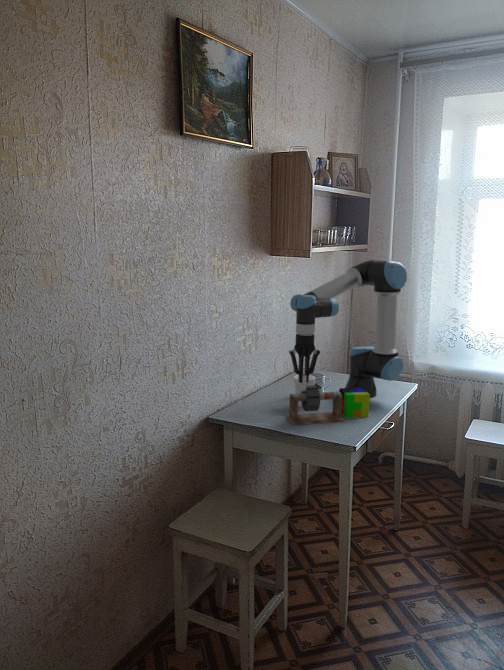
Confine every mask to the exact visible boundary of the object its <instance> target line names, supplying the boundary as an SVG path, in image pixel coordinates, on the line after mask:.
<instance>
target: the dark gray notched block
mask: <svg viewBox="0 0 504 670" xmlns="http://www.w3.org/2000/svg"><path fill="white" fill-rule="evenodd" d="M319 390H320V389H319V387H318V386H317V385H314V386H306V391H302V392H301V394H303V393H305V394H306V401H301V403H302V407H301V408H302V409H303V411H304V412H305V413H306V412H318V411H319V409H320V406H321V400H320V398H319V397H320V393H321V392H320V391H319Z"/></svg>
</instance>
